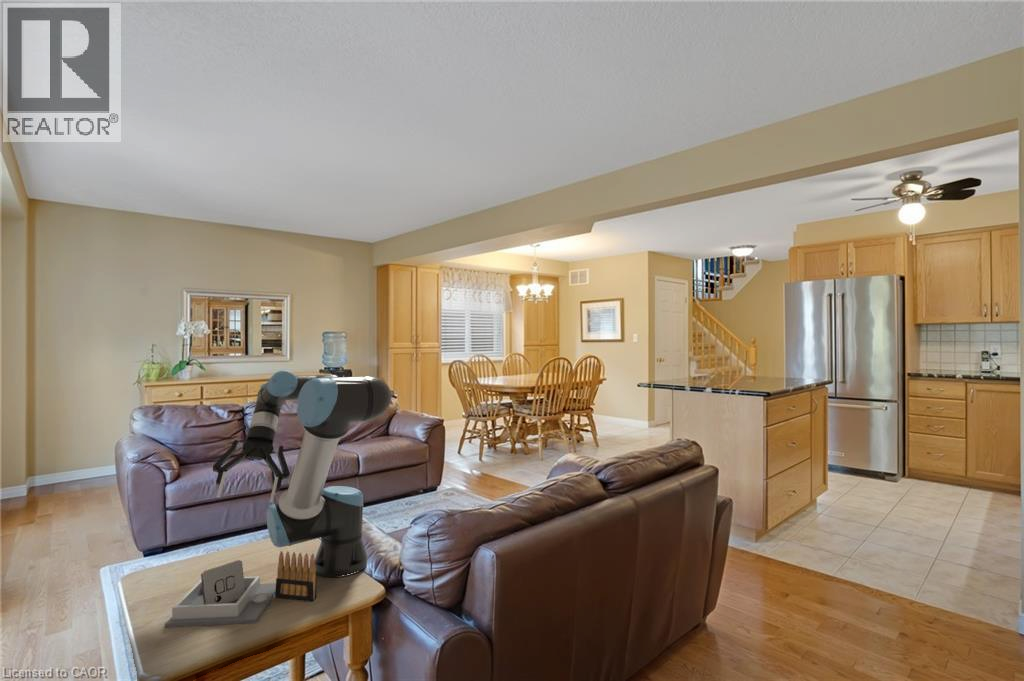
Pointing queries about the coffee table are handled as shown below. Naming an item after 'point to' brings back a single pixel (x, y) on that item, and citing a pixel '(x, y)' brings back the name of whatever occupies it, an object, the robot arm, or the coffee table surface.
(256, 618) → the housing
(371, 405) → the robot arm
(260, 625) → the coffee table surface
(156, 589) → the coffee table surface
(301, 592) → the ammunition clip
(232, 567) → the electrical switch
